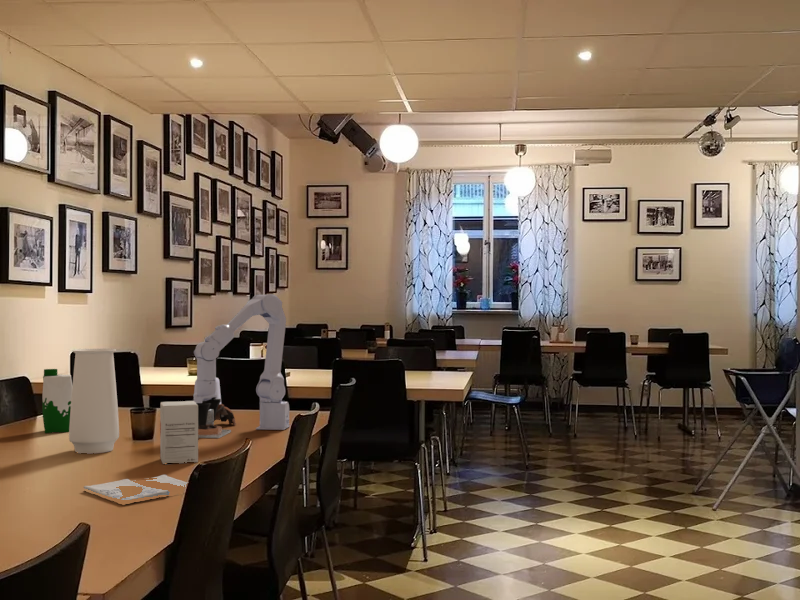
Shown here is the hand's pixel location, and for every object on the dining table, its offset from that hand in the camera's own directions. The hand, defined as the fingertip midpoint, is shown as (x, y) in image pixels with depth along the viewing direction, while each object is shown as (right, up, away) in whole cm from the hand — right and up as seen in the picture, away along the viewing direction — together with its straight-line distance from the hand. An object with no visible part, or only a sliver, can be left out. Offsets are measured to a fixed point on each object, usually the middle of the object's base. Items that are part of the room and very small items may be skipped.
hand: (206, 423), depth 250 cm
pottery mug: (0, -4, +21) cm, 21 cm away
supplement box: (+3, -3, -43) cm, 43 cm away
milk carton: (-50, -4, +8) cm, 51 cm away
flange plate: (0, -3, 0) cm, 3 cm away
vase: (-25, -3, -28) cm, 37 cm away
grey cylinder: (0, -3, 0) cm, 3 cm away
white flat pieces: (+6, -3, -77) cm, 77 cm away
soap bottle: (-10, -4, +44) cm, 46 cm away
